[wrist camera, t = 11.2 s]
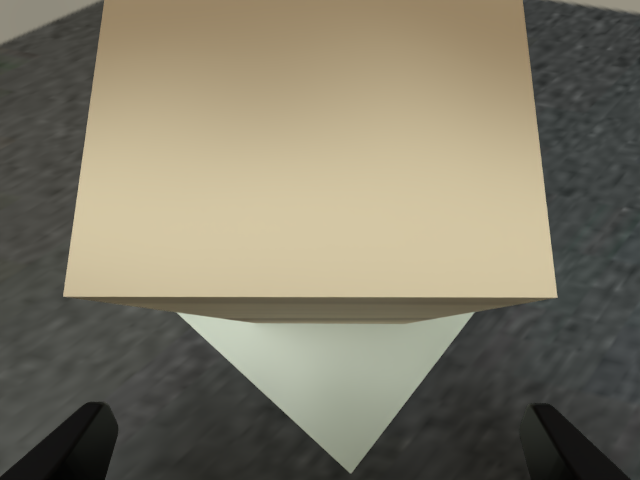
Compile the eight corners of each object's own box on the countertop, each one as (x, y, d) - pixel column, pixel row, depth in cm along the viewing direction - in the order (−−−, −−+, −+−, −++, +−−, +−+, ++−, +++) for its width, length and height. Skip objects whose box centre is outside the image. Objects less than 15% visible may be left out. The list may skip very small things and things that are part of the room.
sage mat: (532, 233, 18) (537, 230, 17) (350, 470, 16) (350, 473, 16) (314, 74, 20) (313, 69, 19) (133, 269, 18) (128, 268, 18)
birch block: (405, 324, 17) (556, 297, 5) (254, 323, 17) (63, 296, 5) (399, 180, 18) (509, -108, 6) (260, 182, 18) (117, -91, 7)
